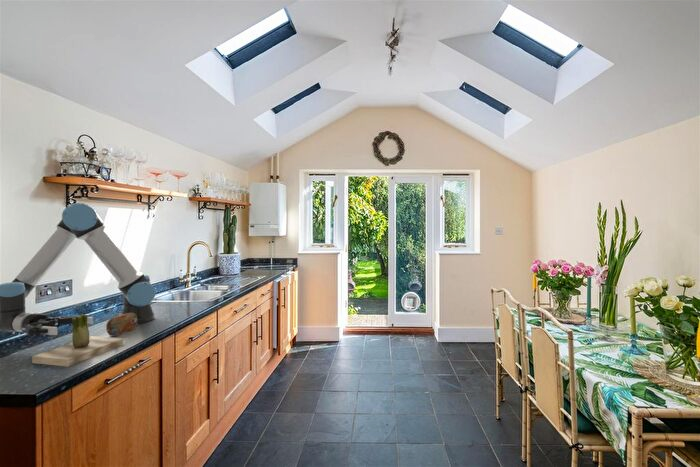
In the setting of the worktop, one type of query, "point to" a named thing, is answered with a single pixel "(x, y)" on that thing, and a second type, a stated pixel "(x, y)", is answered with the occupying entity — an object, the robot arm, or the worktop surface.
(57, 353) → the board
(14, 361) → the worktop surface
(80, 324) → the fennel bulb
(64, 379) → the worktop surface
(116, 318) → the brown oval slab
